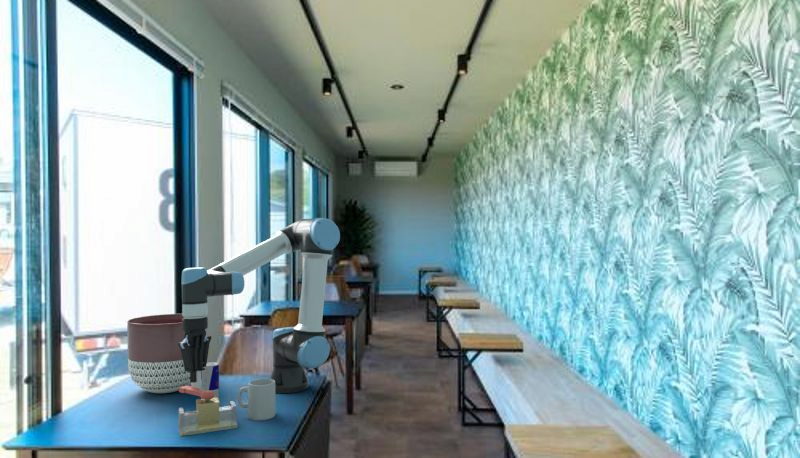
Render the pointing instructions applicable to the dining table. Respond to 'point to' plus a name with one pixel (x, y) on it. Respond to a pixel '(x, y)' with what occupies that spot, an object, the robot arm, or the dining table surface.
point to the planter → (157, 353)
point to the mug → (259, 399)
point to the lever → (197, 392)
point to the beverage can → (211, 378)
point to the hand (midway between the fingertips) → (196, 391)
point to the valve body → (207, 417)
